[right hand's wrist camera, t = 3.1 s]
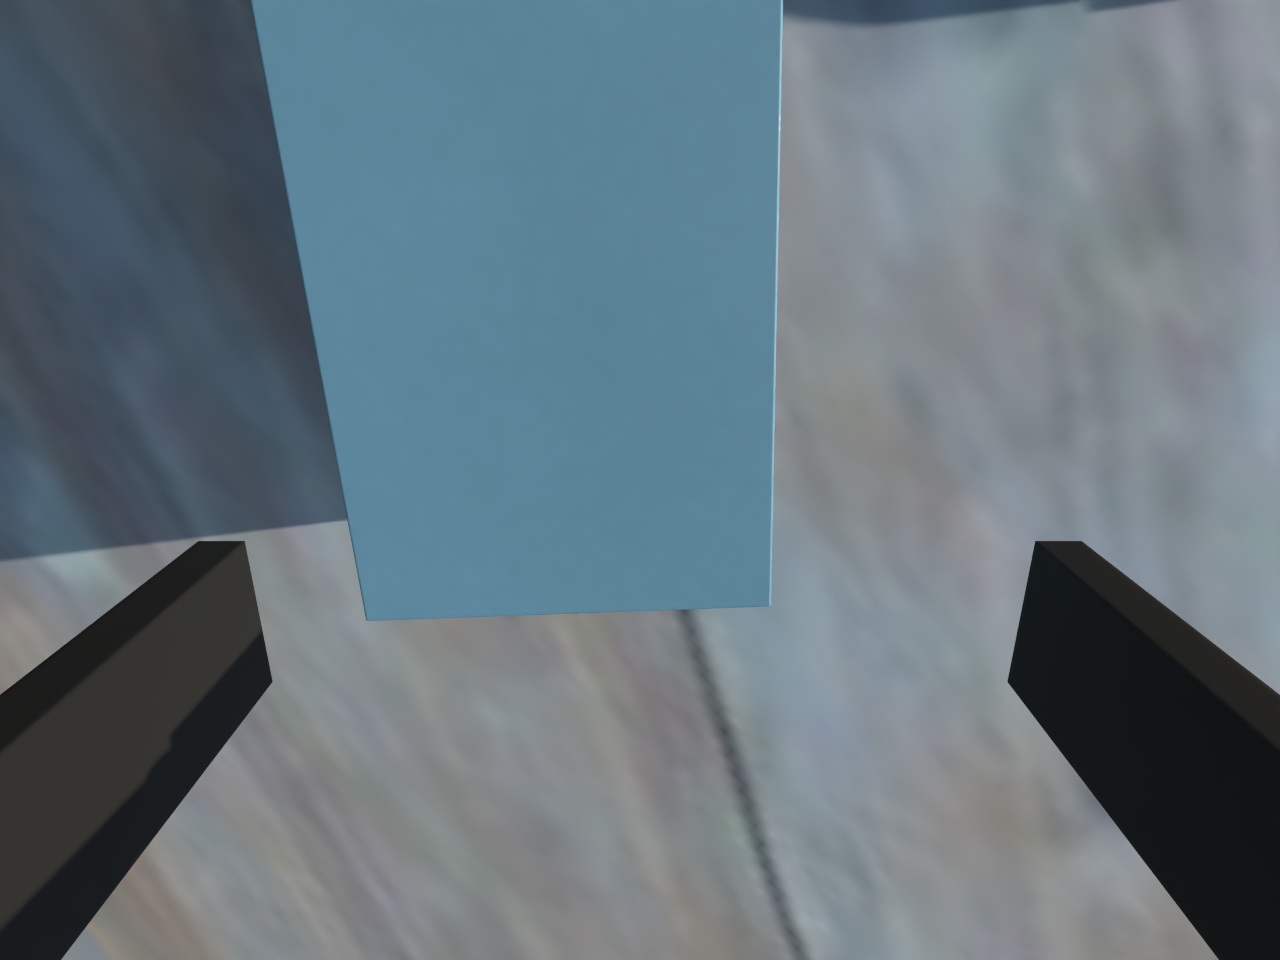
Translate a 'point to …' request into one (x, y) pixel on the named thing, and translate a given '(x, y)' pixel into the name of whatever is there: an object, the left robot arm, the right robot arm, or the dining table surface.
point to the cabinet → (540, 292)
